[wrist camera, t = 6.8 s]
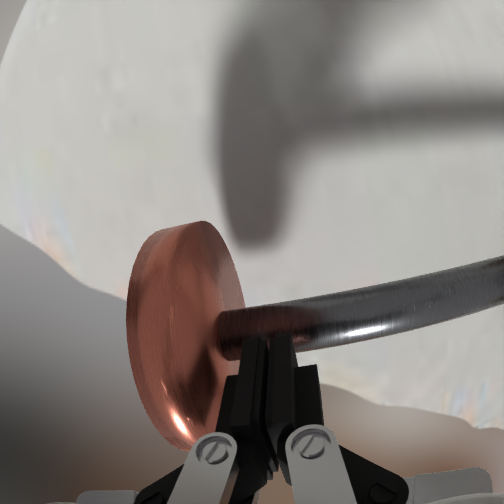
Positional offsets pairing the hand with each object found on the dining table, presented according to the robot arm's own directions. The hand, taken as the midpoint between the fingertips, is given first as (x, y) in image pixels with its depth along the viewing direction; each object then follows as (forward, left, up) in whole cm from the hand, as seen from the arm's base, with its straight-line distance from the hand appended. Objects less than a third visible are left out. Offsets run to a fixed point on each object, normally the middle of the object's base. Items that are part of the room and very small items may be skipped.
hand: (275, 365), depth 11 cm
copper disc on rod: (0, +5, -7) cm, 9 cm away
